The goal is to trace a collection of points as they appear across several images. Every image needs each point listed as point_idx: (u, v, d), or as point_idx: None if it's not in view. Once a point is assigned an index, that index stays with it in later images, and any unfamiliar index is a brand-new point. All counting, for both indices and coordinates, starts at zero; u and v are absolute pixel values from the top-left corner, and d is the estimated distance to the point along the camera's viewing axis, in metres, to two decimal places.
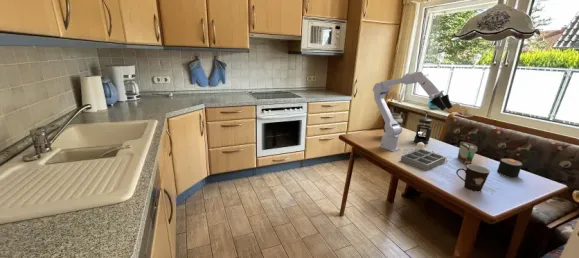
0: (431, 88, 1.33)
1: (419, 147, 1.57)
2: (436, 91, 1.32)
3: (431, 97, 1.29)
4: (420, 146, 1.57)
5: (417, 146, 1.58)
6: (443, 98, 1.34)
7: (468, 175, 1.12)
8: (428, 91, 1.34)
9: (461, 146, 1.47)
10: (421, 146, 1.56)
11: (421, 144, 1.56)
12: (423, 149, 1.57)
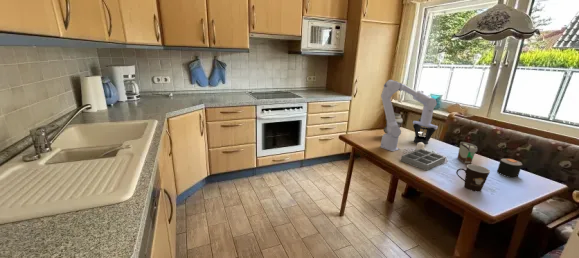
0: (431, 118, 1.52)
1: (419, 147, 1.57)
2: None
3: (437, 128, 1.49)
4: (420, 146, 1.57)
5: (417, 146, 1.58)
6: (418, 126, 1.58)
7: (468, 175, 1.12)
8: (430, 119, 1.51)
9: (461, 146, 1.47)
10: (421, 146, 1.56)
11: (421, 144, 1.56)
12: (423, 149, 1.57)
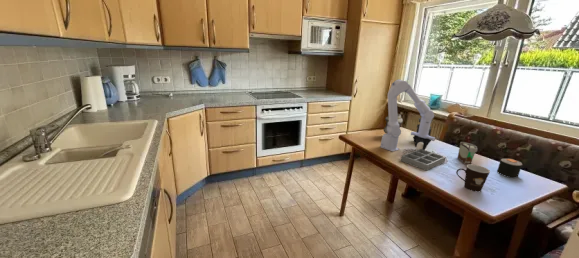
0: None
1: (419, 147, 1.57)
2: None
3: (434, 139, 1.51)
4: (420, 146, 1.57)
5: (417, 146, 1.58)
6: (418, 137, 1.59)
7: (468, 175, 1.12)
8: (427, 130, 1.53)
9: (461, 146, 1.47)
10: (421, 146, 1.56)
11: (421, 144, 1.56)
12: None
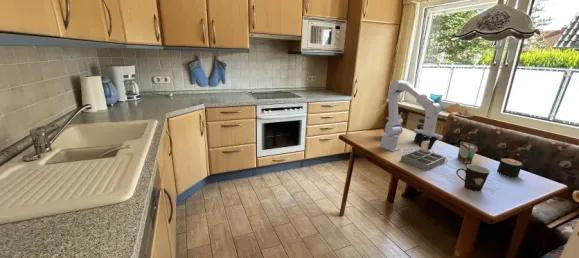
0: (435, 126, 1.35)
1: (424, 146, 1.38)
2: None
3: (441, 138, 1.32)
4: (425, 145, 1.37)
5: (422, 145, 1.39)
6: (423, 136, 1.40)
7: (468, 175, 1.12)
8: (433, 127, 1.33)
9: (461, 146, 1.47)
10: (426, 145, 1.37)
11: (426, 143, 1.37)
12: None
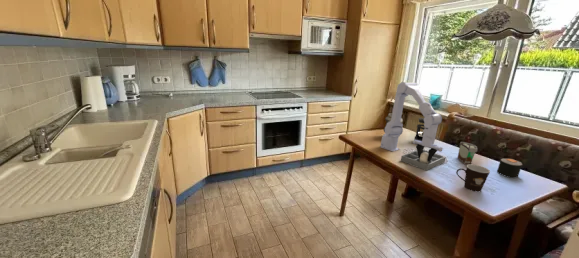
0: None
1: (423, 158, 1.33)
2: None
3: (441, 149, 1.27)
4: (424, 157, 1.32)
5: (421, 157, 1.34)
6: (422, 147, 1.35)
7: (468, 175, 1.12)
8: (433, 139, 1.28)
9: (461, 146, 1.47)
10: (426, 157, 1.32)
11: (426, 155, 1.32)
12: None
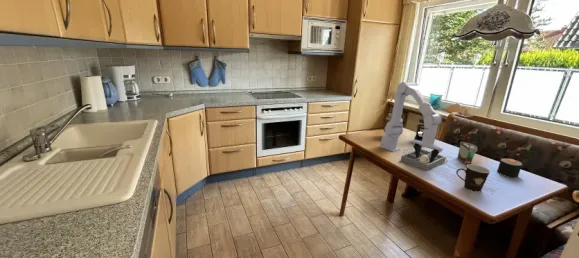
0: None
1: (423, 161, 1.33)
2: None
3: (441, 150, 1.27)
4: (424, 160, 1.33)
5: (420, 160, 1.34)
6: (419, 146, 1.36)
7: (468, 175, 1.12)
8: (433, 139, 1.29)
9: (461, 146, 1.47)
10: (425, 160, 1.33)
11: (425, 157, 1.33)
12: (427, 163, 1.34)
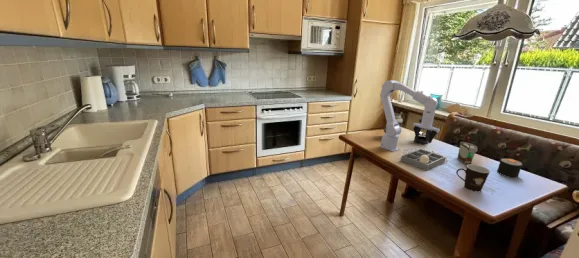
0: None
1: (423, 161, 1.33)
2: None
3: (438, 131, 1.38)
4: (424, 160, 1.33)
5: (420, 160, 1.34)
6: (419, 129, 1.48)
7: (468, 175, 1.12)
8: (431, 121, 1.40)
9: (461, 146, 1.47)
10: (425, 160, 1.33)
11: (425, 157, 1.33)
12: (427, 163, 1.34)
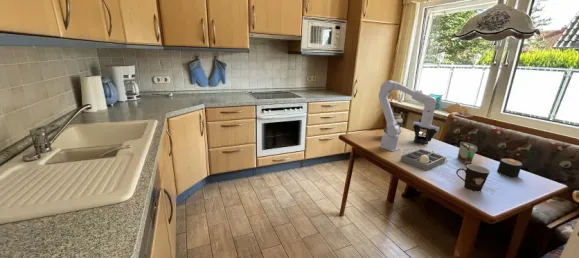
0: (432, 119, 1.44)
1: (423, 161, 1.33)
2: None
3: (438, 129, 1.41)
4: (424, 160, 1.33)
5: (420, 160, 1.34)
6: (419, 127, 1.50)
7: (468, 175, 1.12)
8: (431, 119, 1.43)
9: (461, 146, 1.47)
10: (425, 160, 1.33)
11: (425, 157, 1.33)
12: (427, 163, 1.34)
